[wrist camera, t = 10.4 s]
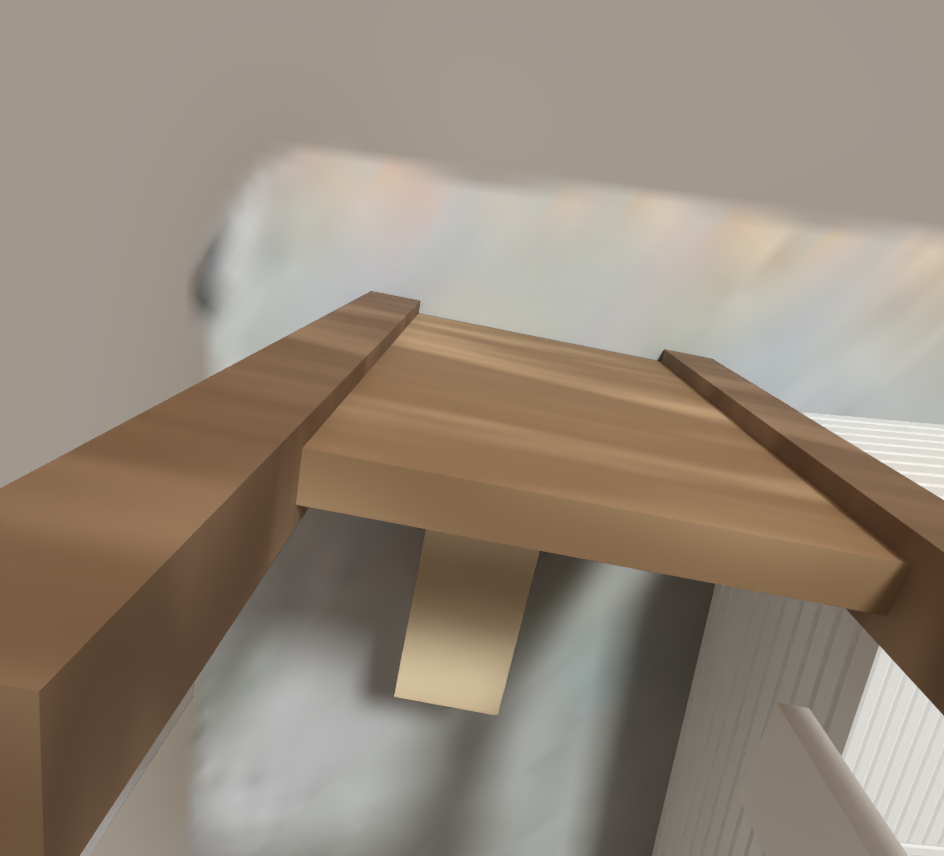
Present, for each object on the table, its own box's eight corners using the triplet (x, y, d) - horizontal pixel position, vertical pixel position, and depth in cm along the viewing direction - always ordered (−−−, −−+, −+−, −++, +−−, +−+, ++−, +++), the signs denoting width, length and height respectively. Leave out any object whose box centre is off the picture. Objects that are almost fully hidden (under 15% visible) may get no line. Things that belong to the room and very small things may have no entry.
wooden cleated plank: (684, 445, 26) (1408, 1279, 6) (358, 382, 26) (-192, 1017, 5) (712, 358, 25) (1763, 999, 4) (371, 291, 25) (-274, 635, 4)
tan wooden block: (497, 620, 29) (497, 715, 24) (413, 605, 29) (394, 696, 24) (555, 377, 26) (573, 419, 20) (460, 358, 26) (450, 396, 20)
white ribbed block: (754, 406, 26) (921, 522, 16) (1009, 429, 26) (1344, 561, 16) (630, 938, 36) (684, 1221, 26) (815, 955, 36) (943, 1247, 26)
